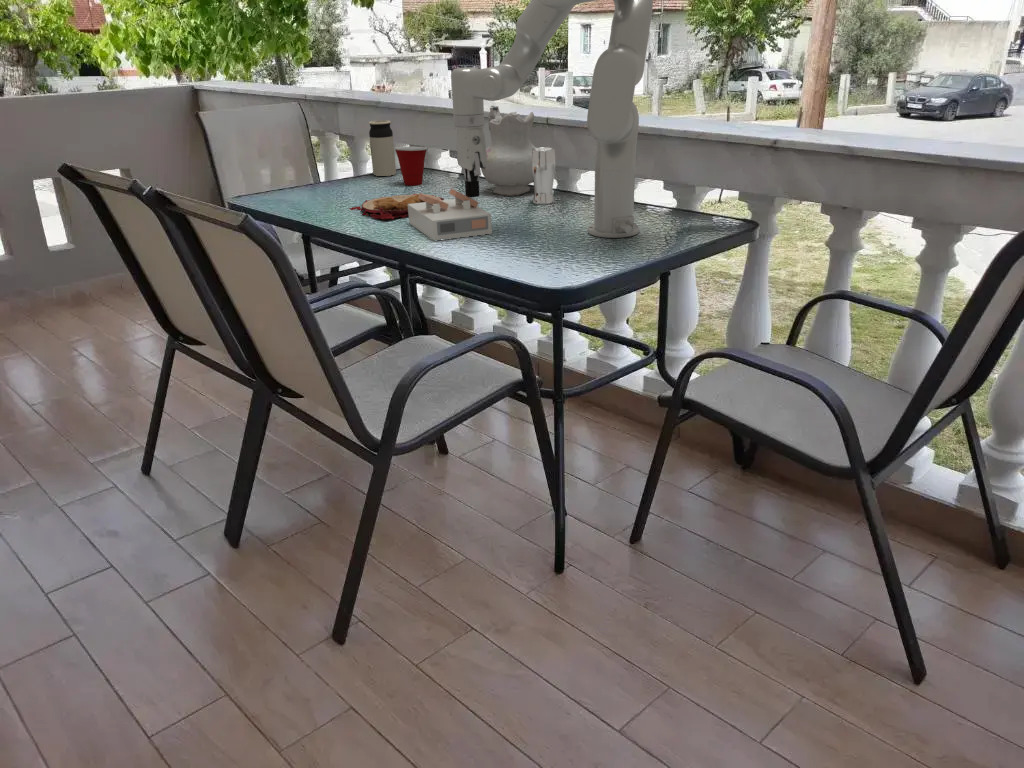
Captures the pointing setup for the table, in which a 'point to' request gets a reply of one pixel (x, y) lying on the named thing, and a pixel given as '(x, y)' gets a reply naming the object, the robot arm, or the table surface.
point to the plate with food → (390, 206)
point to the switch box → (449, 219)
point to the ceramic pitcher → (509, 153)
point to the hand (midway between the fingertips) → (472, 196)
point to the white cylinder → (543, 174)
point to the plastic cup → (411, 164)
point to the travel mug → (382, 148)
